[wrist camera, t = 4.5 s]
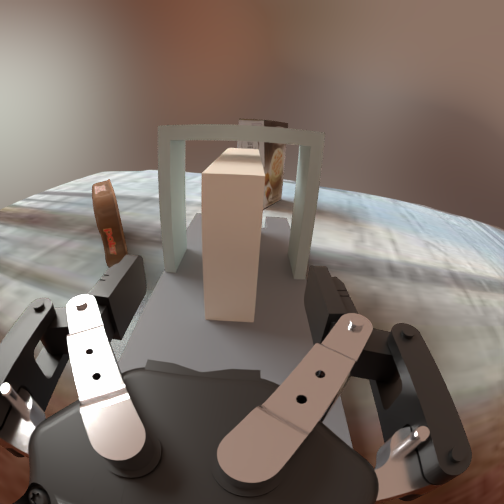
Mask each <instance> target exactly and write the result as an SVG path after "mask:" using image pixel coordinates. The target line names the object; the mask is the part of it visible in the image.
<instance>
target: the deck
mask: <svg viewBox="0 0 504 504" xmlns="http://www.w3.org/2000/svg"><path fill="white" fill-rule="evenodd" d="M290 232H291V229H290V226H289V223H288V221H287V218H280V217H266V221H265V228H261V239H260V252H259V265H258V277H257V290H256V302H255V314H254V322H236V321H219V320H205V306H204V286H203V258H202V214H201V213H196V215H195V216H194V218H193V220H192V221H191V223H190V225H189V227H188V228H187V230H186V235H187V250H186V252H185V254H184V256H183V258H182V260H181V262H180V264H179V266H178V269H177V271H176V273H173V272H165V269H164V271H163V273H162V275H161V277H160V279H159V280H158V282H157V284H156V286H155V288H154V290H153V292H152V294H151V296H150V298H149V300H148V302H147V304H146V306H145V307H144V309H143V311H142V314H141V316H140V318H139V320H138V322H137V324H136V326H135V328H134V330H133V332H132V334H131V336H130V338H129V340H128V343H127V345H126V347H125V349H124V351H123V353H122V356H121V358H120V360H119V362H118V365H119V367H120V370H121V372H122V373H123V372H125V371H128V370H131V369H135V368H141V367H145V366H146V363H147V360H148V359H149V360H156V361H162V362H169V363H175V364H178V365H181V366H184V367H187V368H190V369H193V370H196V371H199V372H209V371H217V370H226V369H247V370H260V375H261V378H262V379H266V380H269V381H272V382H274V383H276V384H278V385H281V384H282V383H283V382H284V381H285V379H286V378H287V377H288V376H289V375H290V374H291V373H292V371H293V370H294V369H295V368H296V367H297V365H298V364H299V363H300V362H301V361H302V360H303V358H304V357H305V356H306V355H307V353H308V352H309V351H310V350H311V349H312V347H313V346H314V345H313V340H312V336H311V332H310V327H309V323H308V319H307V315H306V311H305V306H304V294H305V288H306V283H307V278H306V276H305V279H294V277H293V273H292V269H291V265H290V261H289V257H288V248H289V240H290ZM323 424H324V425H326V426H327V427H328V428H329V429H330V430H331V431H332V432H334V433H335V434H336V435H337V436H338V437H339V438H341V439H342V440H343V441H344V442H345V443H346V444H348V445H349V446H350V447H351V448H352V449H353V447H352V443H351V438H350V434H349V430H348V425H347V421H346V417H345V413H344V409H343V405H342V401H341V397H340V396H339V397H338V399H337V401H336V402H335V404H334V405H333V407H332V409H331V410H330V412H329V414H328V415H327V417H326V418H325V420H324V421H323Z"/></svg>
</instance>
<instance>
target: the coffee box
mask: <svg viewBox="0 0 504 504" xmlns="http://www.w3.org/2000/svg"><path fill="white" fill-rule="evenodd" d="M239 125H249V126H265V127H278V128H288V123H283V122H277V121H271V120H257V119H239ZM237 148H243V149H259V153H260V157H261V161H262V165H263V169H264V173H265V186H264V199H263V209H264V208H266V207H268V206H270V205H272V204H273V203H275V202H277V201H279V200H280V199H281V196H282V186H283V175H284V165H285V153H286V144H282V143H269V142H254V141H238V143H237Z"/></svg>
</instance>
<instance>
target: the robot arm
mask: <svg viewBox="0 0 504 504" xmlns="http://www.w3.org/2000/svg"><path fill="white" fill-rule="evenodd" d="M145 293H146V278H145V272H144V265H143V259H142V257H141V256H140V255H128V254H127V255H125V256H124V257H123V259H122V260H121V261H120V262H119V264H117V263H116V264H115V265H113V266H112V267H110V268H109V269H108V270H107V271H106V272H105V273H104V276H102V277H101V278H100V281H98V282H97V283H96V284H95V286H94V287H93V288H92V289H91V291H90V292H89V293H88V295H79V296H76V297H74V298H73V299H71V300H70V301H69V302H68V304H67V307H57V308H54V306H53V303H52V301H51V300H50V299H49V298H39V299H36V300H34V301H33V302H32V303H30V305H29V306H28V307H27V308H26V309H25V311H24V312H23V313H22V315H21V316H20V317H19V318H18V320H17V321H16V322H15V324H14V325H13V326H12V328H11V329H10V331H9V332H8V333H7V335H6V336H5V338H4V339H3V340H2V342H1V343H0V445H1V446H2V447H4V448H6V449H7V450H8V451H9V452H11V453H12V454H13V455H15V456H17V457H24V456H26V457H28V458H29V462H30V481H29V486H28V489H27V491H26V493H25V494H24V495H23V496H22V497H21V498H20V499H19V500H18V501H16V502H15V503H13V504H379V503H383V502H387V501H390V500H394V499H398V498H399V499H400V500H403V501H411V500H414V499H416V498H418V497H420V496H422V495H424V494H426V493H428V492H430V491H432V490H434V489H436V488H437V487H439V486H441V485H443V484H445V483H446V482H448V481H450V480H451V479H453V478H455V477H456V476H458V475H460V474H461V473H463V472H464V471H465V470H466V469H467V468H468V467H469V465H470V462H471V458H472V452H471V448H470V445H469V442H468V439H467V436H466V433H465V431H464V428H463V425H462V423H461V420H460V417H459V415H458V412H457V410H456V407H455V405H454V402H453V400H452V398H451V395H450V393H449V391H448V389H447V386H446V384H445V382H444V380H443V378H442V375H441V373H440V371H439V369H438V367H437V365H436V363H435V361H434V359H433V357H432V355H431V353H430V351H429V349H428V347H427V345H426V343H425V341H424V339H423V338H422V336H421V334H420V332H419V331H418V330H417V329H416V328H415V327H413V326H411V325H409V324H405V323H399V324H396V325H394V326H393V328H392V330H391V332H388V331H383V330H378V329H374V328H373V326H372V323H371V322H370V321H369V319H367V318H366V317H364V316H362V315H360V314H358V313H357V311H356V308H355V306H354V304H353V302H352V300H351V298H350V297H349V294H348V292H347V290H346V288H345V286H344V283H343V282H341V281H340V280H339V279H338V278H337V277H331V275H330V273H329V271H328V268H327V267H326V266H310V268H309V273H308V278H307V283H306V288H305V294H304V306H305V311H306V315H307V319H308V323H309V327H310V332H311V336H312V340H313V345H314V346H313V347H312V349H311V350H310V351H309V352H308V353H307V355H306V356H305V357H304V358H303V360H302V361H301V362H300V363H299V364H298V365H297V367H296V368H295V369H294V370H293V371H292V373H291V374H290V375H289V376H288V377H287V378H286V379H285V381H284V382H283V383H282V384H281V385H278V384H276V383H274V382H272V381H269V380H266V379H262V378H261V375H260V370H247V369H226V370H217V371H209V372H199V371H196V370H193V369H190V368H187V367H184V366H181V365H178V364H175V363H169V362H162V361H156V360H149V359H148V360H147V363H146V366H145V367H141V368H135V369H131V370H128V371H125V372H123V373H122V372H121V370H120V367H119V365H118V362H117V360H116V357H115V354H114V352H113V349H112V346H111V344H110V342H111V340H112V339H117V340H122V338H123V336H124V334H125V332H126V330H127V328H128V326H129V324H130V322H131V320H132V318H133V316H134V315H135V313H136V311H137V309H138V307H139V305H140V303H141V301H142V299H143V298H144V296H145ZM40 340H41V342H42V344H43V346H44V347H43V349H42V350H41V352H40V354H39V355H38V357H37V359H36V361H35V359H34V349H35V347H36V345H37V344H38V342H39V341H40ZM69 358H70V359H71V364H72V369H73V374H74V378H75V382H76V387H77V391H78V395H79V398H80V399H79V400H77V401H75V402H74V403H72V404H70V405H69V406H67V407H65V408H64V409H62V410H60V411H59V412H57V413H55V414H54V415H52V416H50V417H48V418H47V419H45V413H44V412H45V410H46V407H47V405H48V402H49V400H50V398H51V395H52V393H53V391H54V389H55V387H56V384H57V382H58V380H59V378H60V376H61V374H62V372H63V370H64V368H65V366H66V363H67V361H68V360H69ZM351 376H354V377H359V378H365V379H369V381H370V385H371V388H372V392H373V396H374V400H375V404H376V408H377V412H378V416H379V420H380V424H381V429H382V433H383V438H384V442H385V443H384V444H383V445H382V446H381V447H380V448H379V450H378V452H377V457H376V460H377V463H376V467H375V469H374V468H373V467H372V466H371V464H370V463H369V462H368V461H367V460H366V459H365V458H363V457H362V456H361V455H360V454H358V453H357V452H356V451H355V450H354V449H352V448H351V447H350V446H349V445H348V444H346V443H345V442H344V441H343V440H342V439H341V438H339V437H338V436H337V435H336V434H335V433H334V432H332V431H331V430H330V429H329V428H328V427H327V426H326V425H324V424H323V421H324V420H325V418H326V417H327V415H328V414H329V412H330V410H331V409H332V407H333V405H334V404H335V402H336V401H337V399H338V397H339V396H340V394H341V392H342V391H343V389H344V387H345V386H346V384H347V382H348V381H349V379H350V377H351Z"/></svg>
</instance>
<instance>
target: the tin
mask: <svg viewBox="0 0 504 504" xmlns="http://www.w3.org/2000/svg"><path fill="white" fill-rule="evenodd" d="M92 199H93V208H94V214H95V218H96V223H97V227H98V230H99V232H100V234H101V237H102V241H103V245H104V251H105V259H106V263H107V266H108V267H112V266H113V265H115V264H116V263H117V264H119V262H120V261H121V260H122V259H123V257H124V256H125V255H127V254H128V252H127V246H126V242H125V237H124V233H123V228H122V223H121V218H120V214H119V209H118V205H117V200H116V196H115V193H114V190H113V187H112V184H111V182H110V179H109V180H107V181H103V182H99V183H96V184H94V185H93V186H92Z"/></svg>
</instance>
